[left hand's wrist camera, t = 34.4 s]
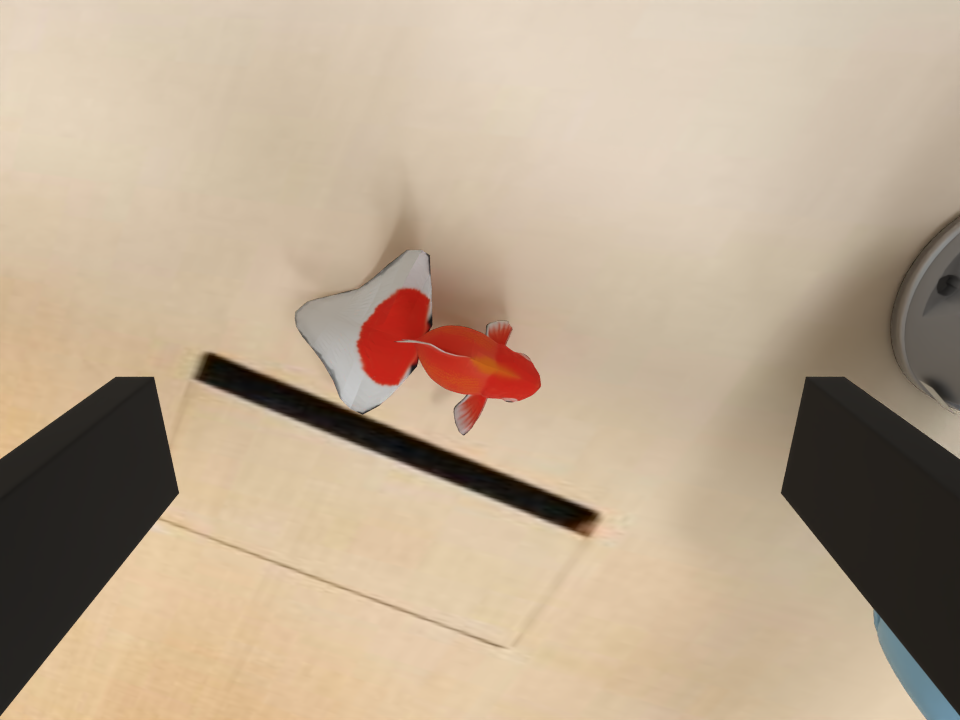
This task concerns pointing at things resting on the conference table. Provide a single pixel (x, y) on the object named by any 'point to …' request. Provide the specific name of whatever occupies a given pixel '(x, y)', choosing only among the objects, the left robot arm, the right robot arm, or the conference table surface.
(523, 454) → the conference table surface
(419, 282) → the fish
